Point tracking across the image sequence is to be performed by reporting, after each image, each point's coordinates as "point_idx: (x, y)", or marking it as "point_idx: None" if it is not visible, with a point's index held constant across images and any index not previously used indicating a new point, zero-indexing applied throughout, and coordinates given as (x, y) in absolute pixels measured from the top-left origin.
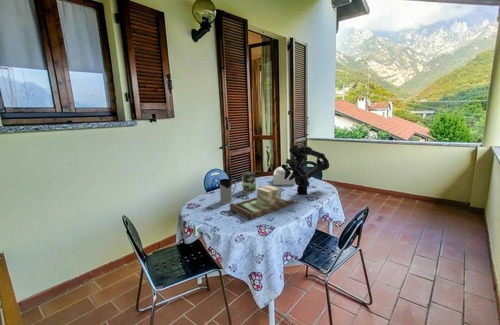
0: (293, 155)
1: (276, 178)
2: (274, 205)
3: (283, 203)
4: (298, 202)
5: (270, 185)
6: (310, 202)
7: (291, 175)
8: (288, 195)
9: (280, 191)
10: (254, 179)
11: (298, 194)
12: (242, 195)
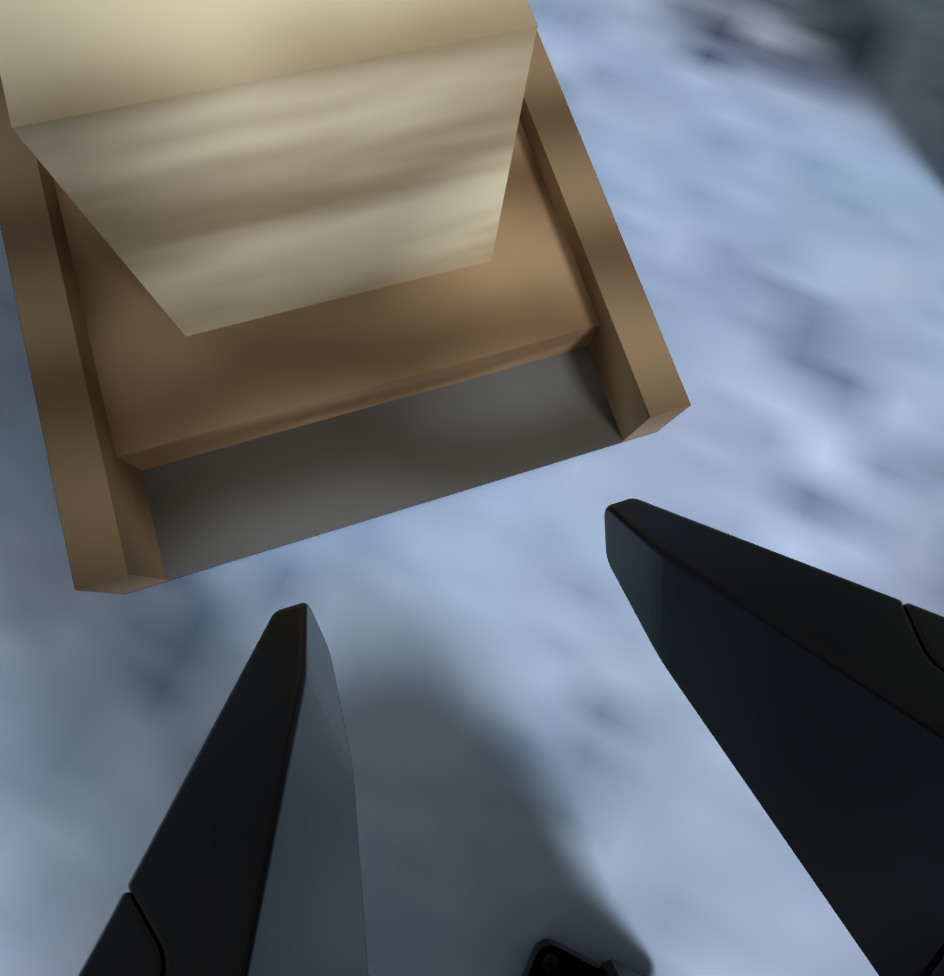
0: None
1: None
2: (5, 115)
3: (20, 300)
4: (145, 705)
5: (473, 24)
6: (7, 954)
7: (209, 857)
8: (595, 712)
9: (61, 178)
10: None
11: (539, 944)
12: (863, 31)
